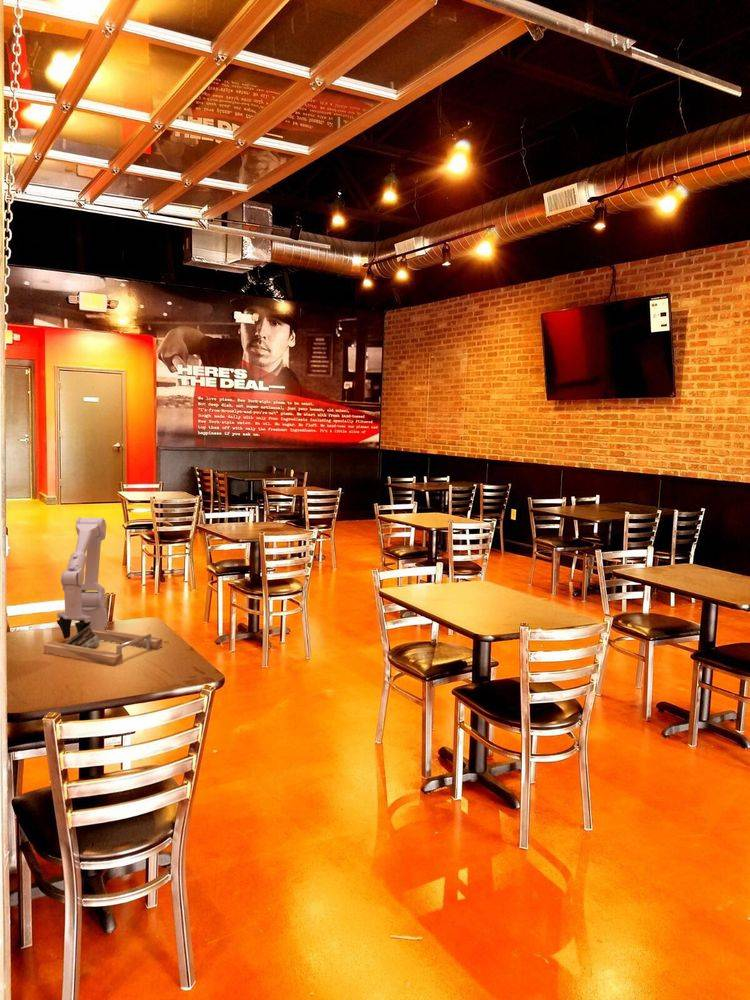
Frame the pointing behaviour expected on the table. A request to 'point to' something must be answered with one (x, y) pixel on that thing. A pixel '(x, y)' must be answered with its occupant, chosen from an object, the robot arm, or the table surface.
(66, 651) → the shelf board
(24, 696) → the table surface
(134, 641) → the hook bar
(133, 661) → the table surface
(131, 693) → the table surface
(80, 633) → the chocolate cake
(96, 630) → the shelf board
